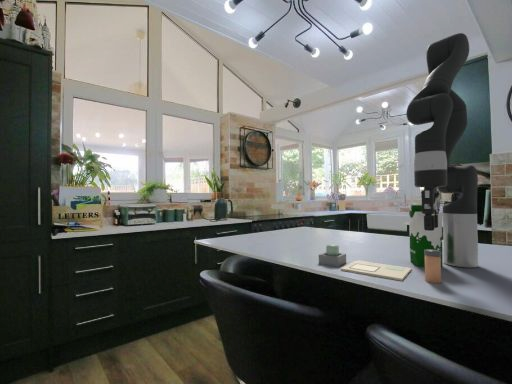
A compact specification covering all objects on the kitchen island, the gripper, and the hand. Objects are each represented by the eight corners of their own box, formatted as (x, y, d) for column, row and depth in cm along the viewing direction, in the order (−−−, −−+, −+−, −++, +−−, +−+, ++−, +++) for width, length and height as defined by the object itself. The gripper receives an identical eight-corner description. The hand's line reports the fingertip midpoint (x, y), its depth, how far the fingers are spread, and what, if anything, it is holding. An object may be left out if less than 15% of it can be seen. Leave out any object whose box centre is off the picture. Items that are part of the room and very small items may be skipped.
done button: (329, 255, 95) (329, 244, 96) (340, 256, 93) (340, 245, 93) (324, 257, 92) (324, 245, 92) (335, 259, 90) (335, 247, 90)
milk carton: (406, 260, 95) (405, 204, 95) (435, 262, 93) (433, 205, 94) (416, 267, 86) (415, 205, 87) (447, 268, 85) (446, 205, 85)
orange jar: (425, 278, 74) (425, 248, 75) (442, 280, 72) (441, 250, 72) (423, 281, 72) (423, 250, 72) (440, 284, 69) (440, 252, 69)
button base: (327, 259, 97) (327, 251, 97) (346, 262, 93) (346, 253, 93) (318, 263, 92) (318, 254, 92) (338, 266, 88) (338, 257, 88)
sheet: (356, 261, 94) (356, 260, 94) (411, 270, 83) (411, 267, 83) (341, 270, 83) (341, 268, 83) (402, 280, 72) (402, 278, 72)
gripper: (444, 166, 65) (446, 232, 64) (449, 170, 76) (450, 227, 75) (409, 168, 70) (410, 230, 69) (418, 172, 80) (419, 225, 80)
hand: (431, 228), depth 72 cm, fingers open, 8 cm apart
